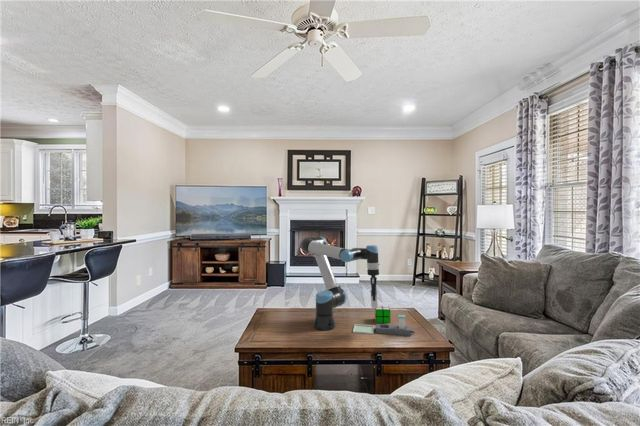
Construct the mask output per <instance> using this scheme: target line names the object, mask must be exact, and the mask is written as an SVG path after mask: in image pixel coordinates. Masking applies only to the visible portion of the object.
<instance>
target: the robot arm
mask: <svg viewBox="0 0 640 426" xmlns="http://www.w3.org/2000/svg"><path fill="white" fill-rule="evenodd" d="M300 248H301V250H302V251H303V252H304V253H306V254H311V256H312V257H314V258H315V260H316V261H315V262H316V263H317V266H318V269H319V272H320V275H321V278H322V281H323V283H324V285H325V289H324V290H320V291H318V292H317V293H316V295H315V317H314V321H313V328H314V329H315V330H319V331H331V330H333V329H335V328H336V321H335V317H334V311H333V309H335V308H338V307H341V306H342V305H344V304H345V303H346V301H347V299H348V296H347V292H346V290H345V289H343V288H342V287H341V285H340V284H338V282H337V280H336V277H335V275H334V274H335V273H334V272H333V270H332V266H331V264H330V260H329V257H330V258H334V259H338V260H341V261H342V262H344V263H350V262H353V261H359V260H366V268H367V276H370V287H371V289H370V291H371V290H372V295H371V294H370V297H371V296H372V306H377V304H376V290H377V283H378V282H377V281H378V280H377V279H378V278H377V276H379V275H380V269H379V268H380V263H379V246H378V245H375V244H374V245H373V244H367V245H366V247H364V248H362V247H352V248H351V249H348V248H343V247H338V246H334V245H329V244H328V241H327V240H326V238H325V237H324V236H319V235H316V236H308V237H307V236H306V237H305V238H303V239H302V240H301V242H300Z"/></svg>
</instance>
